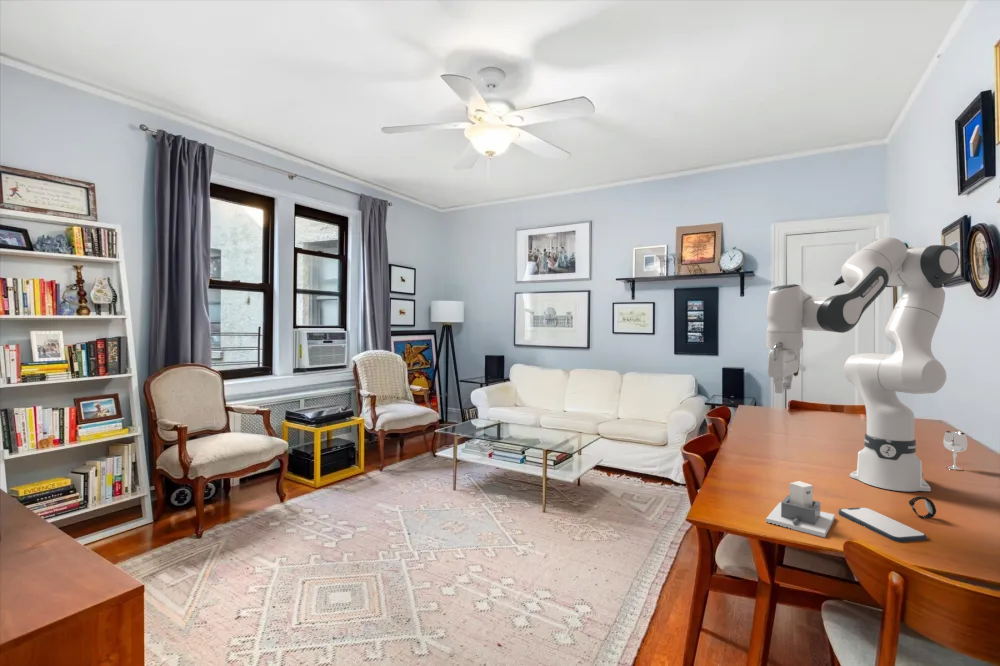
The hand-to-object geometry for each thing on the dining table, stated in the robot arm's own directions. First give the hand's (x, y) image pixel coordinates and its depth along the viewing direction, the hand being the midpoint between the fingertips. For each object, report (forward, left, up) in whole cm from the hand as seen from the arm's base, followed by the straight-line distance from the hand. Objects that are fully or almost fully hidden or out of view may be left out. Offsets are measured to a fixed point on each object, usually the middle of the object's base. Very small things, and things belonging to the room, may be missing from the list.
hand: (783, 391), depth 136 cm
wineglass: (-63, +37, -29) cm, 79 cm away
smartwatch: (-5, +30, -29) cm, 42 cm away
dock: (+18, +8, -29) cm, 35 cm away
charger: (+18, +8, -28) cm, 34 cm away
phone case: (+9, +23, -30) cm, 38 cm away
